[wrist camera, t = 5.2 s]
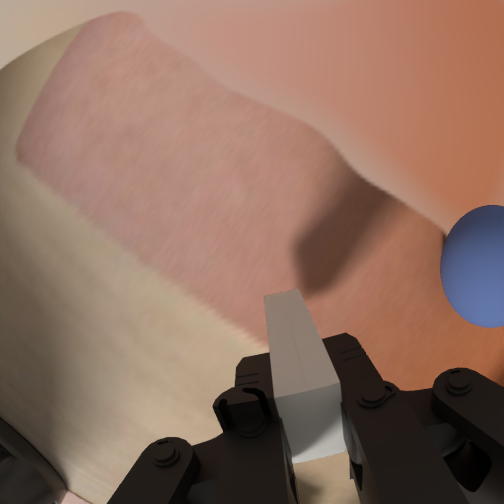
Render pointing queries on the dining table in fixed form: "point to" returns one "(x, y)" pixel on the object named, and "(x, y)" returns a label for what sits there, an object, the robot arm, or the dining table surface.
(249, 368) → the robot arm
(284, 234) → the dining table surface
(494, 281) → the ball
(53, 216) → the dining table surface
